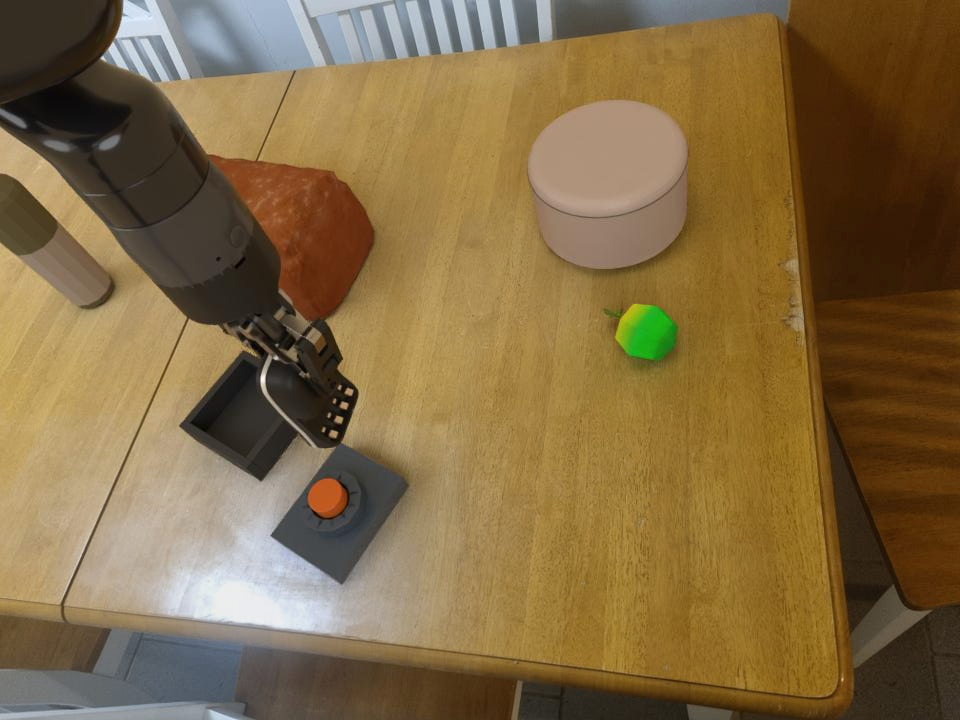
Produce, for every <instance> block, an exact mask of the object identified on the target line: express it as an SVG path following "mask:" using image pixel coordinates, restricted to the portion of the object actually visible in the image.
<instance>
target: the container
mask: <svg viewBox="0 0 960 720" xmlns="http://www.w3.org/2000/svg"><path fill="white" fill-rule="evenodd" d="M688 143H689V142H688V141H687V137H686V135H685V133H684V131H683V128H682V127H681V126H680V124H679V123H678V122H677V120H675V119H674V118H673V117H672V116H671V115H670V114H668V113H667V112H666V111H664V110H663V109H660V108H659V107H656V106H655V105H652V104H648V103H645V102H642V101H637V100H631V99H606V100H599V101H598V100H597V101H594V102H589V103H586V104H584V105H580V106H578V107H574V108H572V109H571V110H568V111H566V112H565V113H563V114H562V115H559V116H558V117H556V119H554V120H552V121H551V122H550V123H549V124H548V125H547V126H546V127H544V129H543V130H542V131H541V132H540V133H539V135H537V137H536V139H535V140H534V142H533V143H532V146H531V148H530V151H529V155H528V158H527V165H526V176H527V181H528V183H529V186H530V189H531V194H532V198H533V203H534V208H535V211H536V217H537V221H538V225H539V230H540V233H541V236H542V238H543V240H544V242H545V244H546V245H547V246H548V247H549V249H550V250H551V251H552V252H553V253H555V254H556V255H557V256H558V257H560V258H561V259H563V260H565V261H567V262H569V263H571V264H574V265H577V266H580V267H584V268H587V269H588V268H589V269H596V270H613V269H614V270H615V269H622V268H627V267H631V266H634V265H637V264H641V263H643V262H645V261H648V260H649V259H652V258H653V257H655V256H657V255H658V254H660V253H662V252H663V251H664V250H666V248H668V247H669V246H670V245H671V244H673V242H674V241H675V240H676V238H677V237H678V236H679V234H680V233H681V232H682V230H683V227H684V226H685V223H686V220H687V213H688V177H689V175H688V172H689V171H688V169H689V166H688V165H689V156H690V155H689V153H690V152H689V150H690V149H689V144H688Z"/></svg>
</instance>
